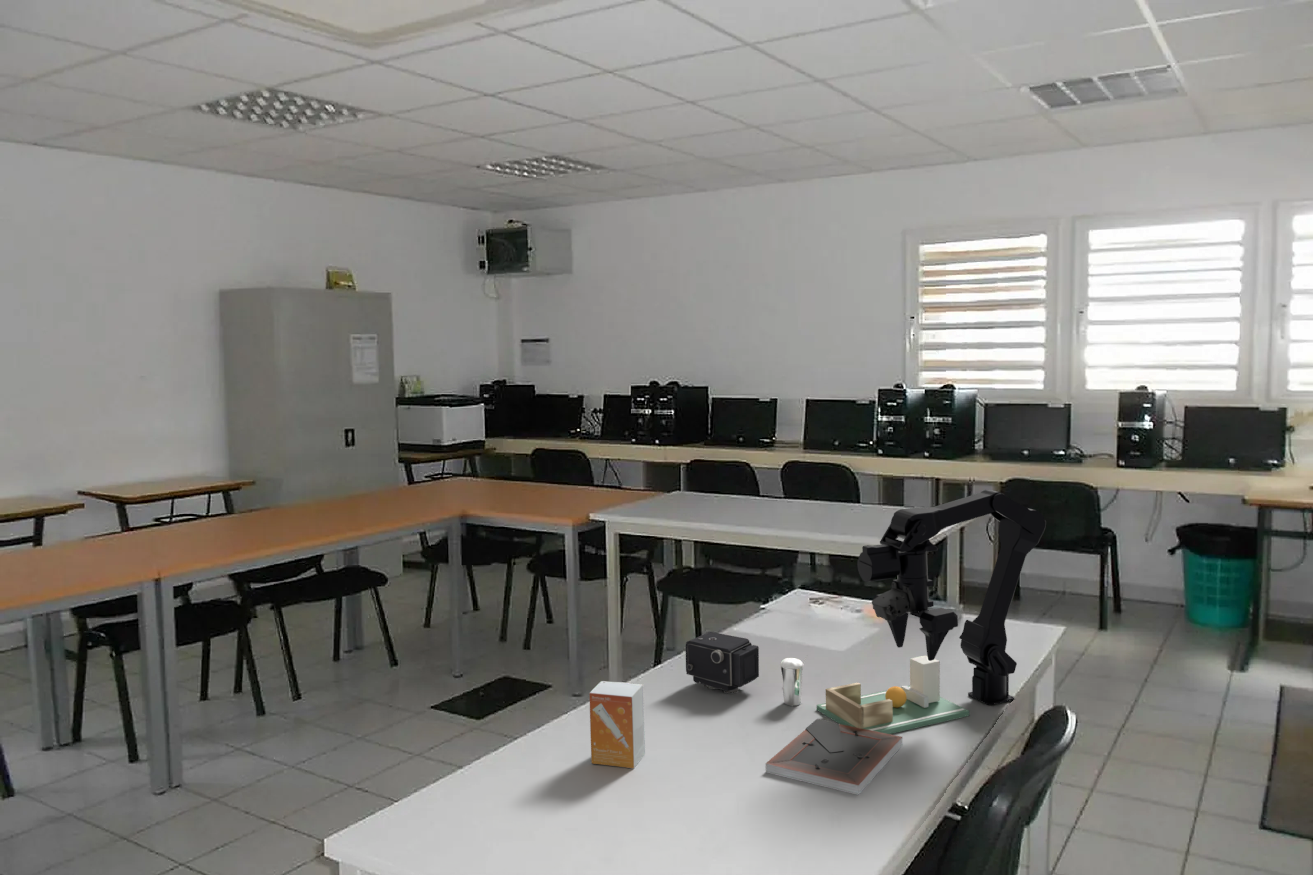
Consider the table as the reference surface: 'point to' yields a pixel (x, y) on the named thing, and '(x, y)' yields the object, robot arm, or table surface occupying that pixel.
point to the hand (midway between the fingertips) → (915, 653)
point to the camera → (722, 661)
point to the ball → (896, 696)
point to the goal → (857, 706)
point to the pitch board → (906, 714)
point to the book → (835, 756)
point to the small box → (617, 724)
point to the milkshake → (792, 680)
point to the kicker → (923, 681)
